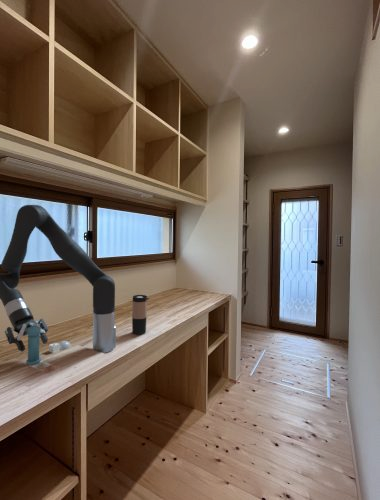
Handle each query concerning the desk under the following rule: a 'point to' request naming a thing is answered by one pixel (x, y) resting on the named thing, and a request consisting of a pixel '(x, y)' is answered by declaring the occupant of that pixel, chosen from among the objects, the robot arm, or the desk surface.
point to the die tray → (59, 346)
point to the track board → (43, 365)
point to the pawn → (33, 345)
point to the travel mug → (139, 314)
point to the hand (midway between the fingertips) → (35, 346)
